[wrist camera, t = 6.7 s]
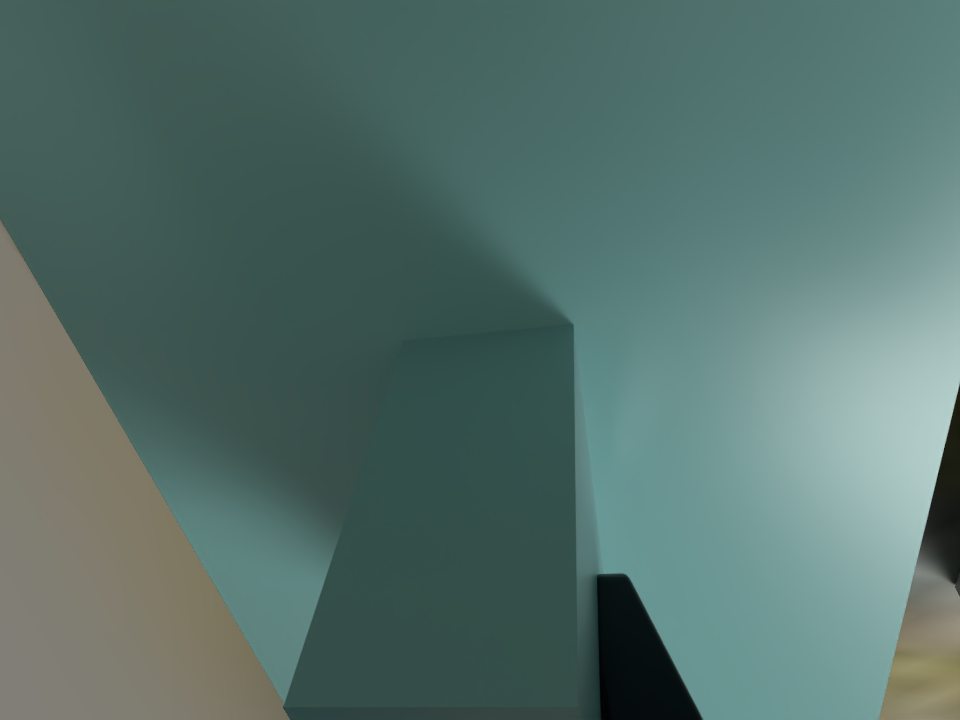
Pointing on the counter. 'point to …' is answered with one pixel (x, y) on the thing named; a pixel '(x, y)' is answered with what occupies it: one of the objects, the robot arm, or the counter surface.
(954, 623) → the counter surface
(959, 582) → the tub
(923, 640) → the counter surface
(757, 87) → the lid
